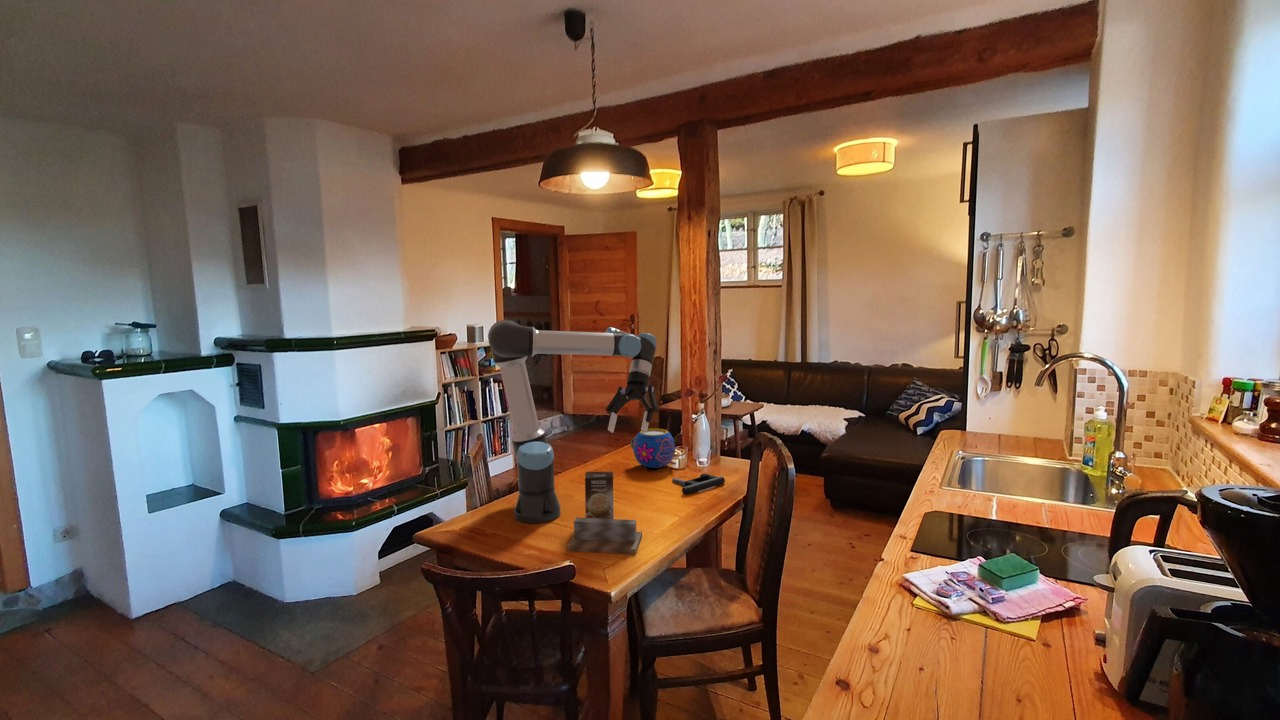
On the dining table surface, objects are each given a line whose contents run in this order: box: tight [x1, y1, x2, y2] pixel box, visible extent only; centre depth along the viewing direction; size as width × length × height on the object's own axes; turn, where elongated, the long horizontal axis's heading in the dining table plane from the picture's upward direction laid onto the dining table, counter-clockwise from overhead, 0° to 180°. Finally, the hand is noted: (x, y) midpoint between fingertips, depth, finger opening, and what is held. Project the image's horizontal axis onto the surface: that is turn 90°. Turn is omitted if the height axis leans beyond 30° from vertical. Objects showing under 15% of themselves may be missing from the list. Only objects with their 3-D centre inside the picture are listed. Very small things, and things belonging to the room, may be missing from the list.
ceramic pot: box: [630, 427, 676, 469], centre depth 248 cm, size 18×18×15 cm
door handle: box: [671, 473, 726, 495], centre depth 225 cm, size 3×20×16 cm
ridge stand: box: [566, 517, 643, 555], centre depth 176 cm, size 20×12×7 cm, turn 81°
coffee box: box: [584, 471, 615, 519], centre depth 191 cm, size 9×6×16 cm
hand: (626, 431), depth 202 cm, fingers open, 13 cm apart
